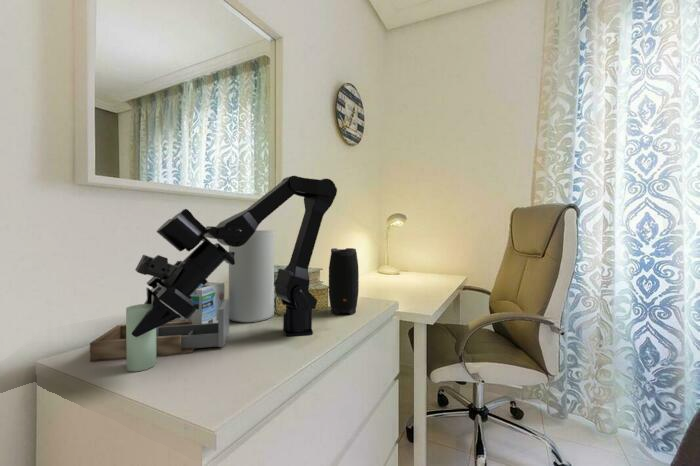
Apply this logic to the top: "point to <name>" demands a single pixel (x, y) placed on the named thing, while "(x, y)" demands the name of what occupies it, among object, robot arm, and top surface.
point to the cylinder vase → (252, 279)
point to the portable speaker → (343, 280)
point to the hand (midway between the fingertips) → (132, 331)
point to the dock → (115, 344)
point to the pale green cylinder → (139, 340)
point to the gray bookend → (201, 331)
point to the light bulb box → (206, 303)
